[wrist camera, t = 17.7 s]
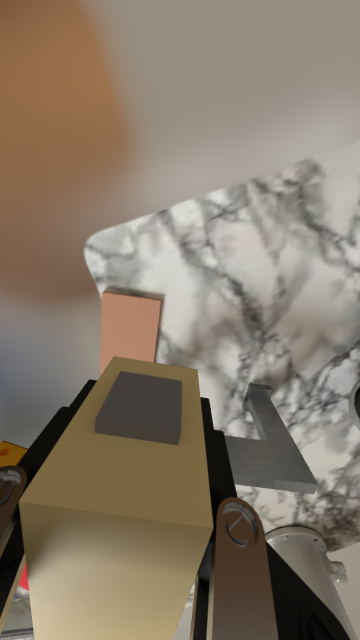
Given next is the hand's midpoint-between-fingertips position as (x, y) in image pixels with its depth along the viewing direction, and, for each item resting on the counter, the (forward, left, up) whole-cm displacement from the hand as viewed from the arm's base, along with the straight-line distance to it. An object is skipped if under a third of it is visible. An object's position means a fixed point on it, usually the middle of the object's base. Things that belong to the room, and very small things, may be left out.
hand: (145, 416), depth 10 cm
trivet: (+5, +6, -17) cm, 19 cm away
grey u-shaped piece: (-7, +11, -17) cm, 22 cm away
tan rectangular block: (0, +4, -1) cm, 4 cm away
